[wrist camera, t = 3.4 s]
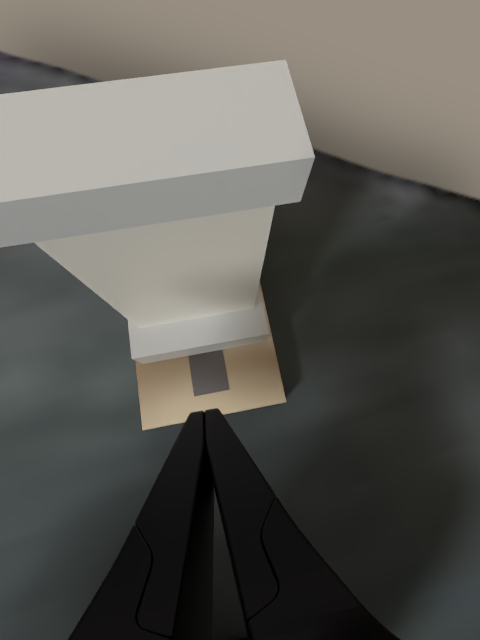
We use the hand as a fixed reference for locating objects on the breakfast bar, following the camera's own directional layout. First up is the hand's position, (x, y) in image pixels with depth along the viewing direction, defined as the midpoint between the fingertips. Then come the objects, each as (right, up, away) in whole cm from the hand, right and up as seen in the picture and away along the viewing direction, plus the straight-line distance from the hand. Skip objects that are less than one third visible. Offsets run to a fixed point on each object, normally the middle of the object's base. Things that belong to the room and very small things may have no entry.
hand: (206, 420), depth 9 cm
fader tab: (-1, +3, +9) cm, 10 cm away
